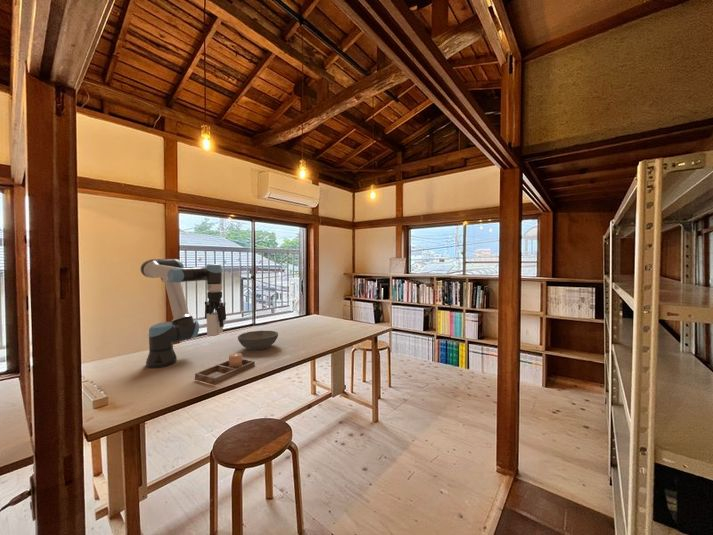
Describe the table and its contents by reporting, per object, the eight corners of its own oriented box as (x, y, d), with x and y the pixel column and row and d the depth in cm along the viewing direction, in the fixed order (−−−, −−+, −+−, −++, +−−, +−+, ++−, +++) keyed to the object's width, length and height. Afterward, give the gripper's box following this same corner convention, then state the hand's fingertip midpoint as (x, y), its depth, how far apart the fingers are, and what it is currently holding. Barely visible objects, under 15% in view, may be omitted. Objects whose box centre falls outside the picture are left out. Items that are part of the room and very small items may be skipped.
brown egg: (226, 368, 163) (226, 356, 163) (236, 364, 170) (236, 352, 169) (235, 370, 160) (235, 358, 160) (245, 366, 167) (245, 354, 167)
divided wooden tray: (195, 379, 150) (195, 373, 150) (235, 362, 174) (235, 357, 174) (215, 384, 144) (215, 378, 144) (254, 366, 168) (254, 361, 168)
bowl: (230, 354, 189) (230, 339, 188) (247, 342, 215) (247, 328, 214) (271, 355, 188) (271, 339, 187) (283, 342, 214) (282, 329, 214)
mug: (209, 337, 160) (209, 315, 160) (204, 334, 165) (204, 313, 164) (227, 333, 168) (227, 312, 167) (222, 331, 172) (222, 311, 172)
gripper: (196, 291, 166) (197, 331, 167) (221, 292, 158) (223, 335, 159) (208, 290, 173) (209, 328, 174) (232, 291, 165) (233, 331, 166)
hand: (215, 331), depth 166 cm, fingers closed on mug, 6 cm apart
